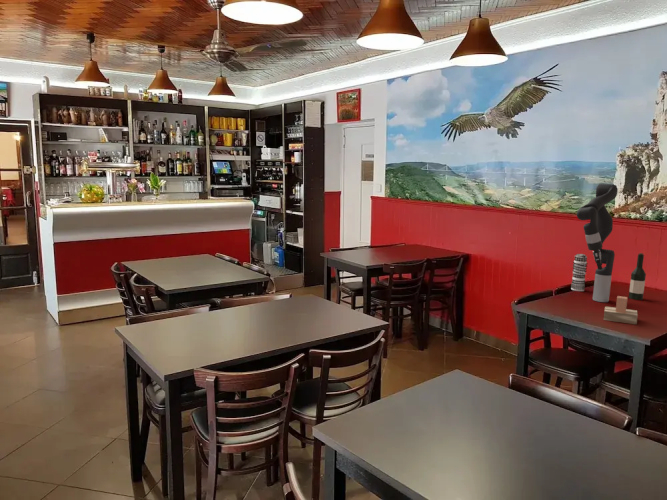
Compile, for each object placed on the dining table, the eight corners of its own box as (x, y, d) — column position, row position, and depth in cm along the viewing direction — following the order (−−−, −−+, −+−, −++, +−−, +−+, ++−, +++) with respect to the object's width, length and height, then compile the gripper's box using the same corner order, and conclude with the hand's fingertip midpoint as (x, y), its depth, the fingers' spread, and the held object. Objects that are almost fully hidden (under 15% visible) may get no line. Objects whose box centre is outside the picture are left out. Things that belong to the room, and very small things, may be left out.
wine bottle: (637, 300, 332) (643, 254, 328) (625, 297, 340) (630, 252, 335) (645, 299, 336) (651, 254, 331) (633, 296, 343) (638, 252, 339)
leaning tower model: (582, 292, 352) (586, 256, 348) (568, 289, 359) (571, 254, 355) (586, 289, 359) (590, 254, 355) (573, 287, 365) (576, 252, 361)
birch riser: (604, 314, 298) (605, 306, 297) (636, 319, 290) (637, 310, 290) (603, 319, 288) (604, 311, 287) (636, 324, 280) (637, 315, 279)
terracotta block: (615, 309, 290) (617, 295, 289) (625, 311, 288) (627, 297, 286) (615, 311, 286) (617, 297, 285) (625, 313, 284) (627, 299, 282)
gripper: (600, 242, 288) (607, 269, 290) (600, 236, 300) (607, 262, 302) (586, 245, 292) (593, 272, 294) (586, 239, 304) (593, 264, 306)
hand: (600, 267), depth 298 cm, fingers open, 8 cm apart
